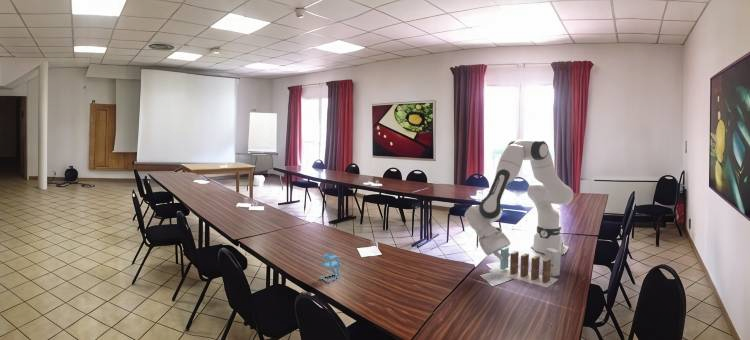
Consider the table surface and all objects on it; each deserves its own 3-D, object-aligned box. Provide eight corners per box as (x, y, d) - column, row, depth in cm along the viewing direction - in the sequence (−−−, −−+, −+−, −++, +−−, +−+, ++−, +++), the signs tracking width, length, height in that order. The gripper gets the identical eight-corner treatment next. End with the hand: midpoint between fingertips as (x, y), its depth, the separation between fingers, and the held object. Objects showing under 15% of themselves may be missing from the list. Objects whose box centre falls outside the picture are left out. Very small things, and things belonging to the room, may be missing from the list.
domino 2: (510, 273, 176) (510, 253, 175) (514, 271, 180) (515, 250, 179) (513, 274, 175) (513, 254, 174) (518, 271, 178) (518, 251, 177)
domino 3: (520, 276, 172) (520, 255, 172) (525, 273, 176) (525, 253, 175) (523, 277, 171) (524, 256, 170) (528, 274, 175) (528, 254, 174)
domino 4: (530, 279, 169) (531, 258, 168) (535, 276, 172) (536, 255, 171) (534, 280, 168) (535, 258, 167) (539, 277, 171) (539, 256, 170)
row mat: (501, 265, 189) (501, 264, 189) (558, 280, 169) (558, 279, 169) (488, 272, 180) (488, 270, 180) (547, 288, 160) (547, 287, 160)
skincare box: (543, 272, 178) (544, 248, 177) (550, 271, 180) (551, 247, 179) (552, 277, 173) (553, 252, 172) (560, 276, 174) (561, 251, 173)
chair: (343, 278, 174) (343, 253, 173) (330, 283, 168) (329, 257, 167) (332, 274, 179) (332, 249, 178) (319, 278, 173) (319, 253, 172)
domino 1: (500, 269, 180) (500, 249, 179) (505, 266, 183) (505, 246, 182) (503, 269, 178) (503, 249, 178) (508, 267, 182) (508, 247, 181)
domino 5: (542, 282, 165) (542, 260, 164) (546, 279, 169) (547, 258, 168) (545, 283, 164) (546, 261, 163) (550, 280, 168) (550, 258, 167)
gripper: (481, 234, 177) (499, 259, 171) (501, 227, 191) (519, 249, 185) (472, 242, 181) (490, 266, 174) (493, 234, 195) (510, 256, 189)
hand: (505, 257), depth 180 cm, fingers closed on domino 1, 5 cm apart
